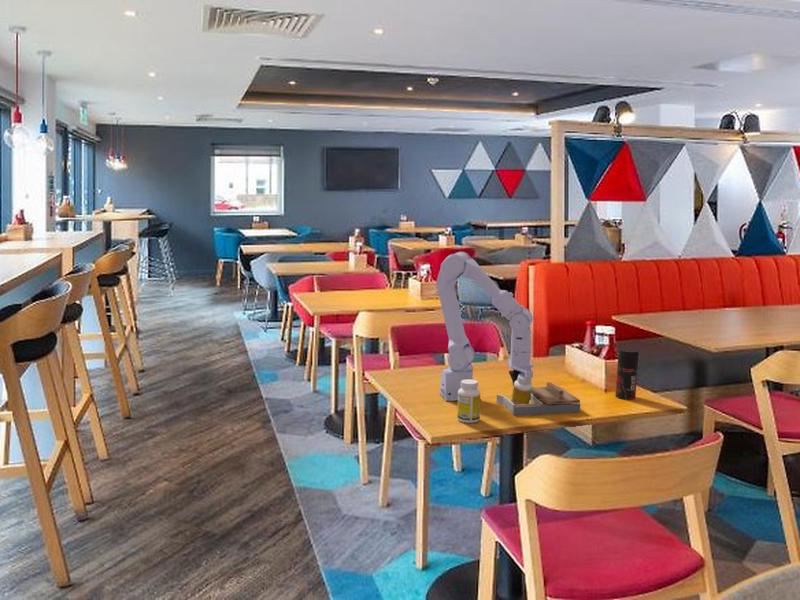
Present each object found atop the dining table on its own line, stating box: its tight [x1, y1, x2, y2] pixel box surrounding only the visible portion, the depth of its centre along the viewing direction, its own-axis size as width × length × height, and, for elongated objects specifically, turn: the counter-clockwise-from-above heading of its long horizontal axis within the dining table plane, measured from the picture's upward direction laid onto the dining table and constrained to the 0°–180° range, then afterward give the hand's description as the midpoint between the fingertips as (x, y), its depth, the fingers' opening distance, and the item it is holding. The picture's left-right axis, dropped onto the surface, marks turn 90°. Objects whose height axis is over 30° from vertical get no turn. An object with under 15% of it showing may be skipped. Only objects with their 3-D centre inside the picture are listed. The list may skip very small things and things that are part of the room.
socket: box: [496, 393, 581, 417], centre depth 212 cm, size 21×14×2 cm
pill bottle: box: [457, 379, 481, 424], centre depth 198 cm, size 6×6×11 cm
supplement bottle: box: [510, 373, 534, 405], centre depth 210 cm, size 5×5×10 cm
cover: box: [531, 382, 581, 405], centre depth 212 cm, size 10×14×3 cm
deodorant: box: [614, 347, 640, 401], centre depth 222 cm, size 6×6×15 cm
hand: (519, 394), depth 214 cm, fingers closed, pressing on supplement bottle
